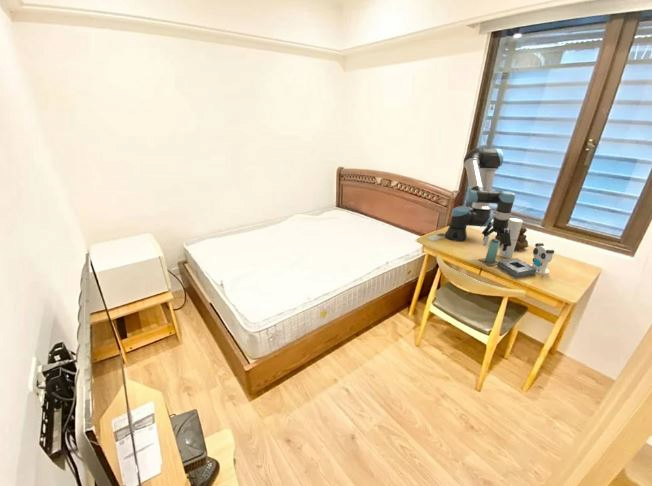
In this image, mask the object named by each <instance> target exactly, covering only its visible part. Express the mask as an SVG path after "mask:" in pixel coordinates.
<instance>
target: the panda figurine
mask: <svg viewBox="0 0 652 486" xmlns="http://www.w3.org/2000/svg"><path fill="white" fill-rule="evenodd" d="M534 246H535V247H534V249H533V251H532V253H533V258H532V262H533V263H531V264H529V263H528V264H529V265H531V266H533V267H534V268H536V269H537V270H536V273H535V274H541V275H547V274H550V270H549V268H547V267H548V264H549V263H551V261H552V260H553V257H554V256H553V255H554V253H555V250H553V249H551V248H550V247H549V246H546V245H545V244H544V243H541V242H540V243H539V242H538V243H535V244H534Z"/></svg>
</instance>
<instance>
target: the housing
mask: <svg viewBox="0 0 652 486" xmlns="http://www.w3.org/2000/svg"><path fill="white" fill-rule="evenodd" d="M497 262H498V265H496V267H497V268H499V269H500V270H502V271H503V272H505V273H506V274H509V275H510V276H511V277H513V278H515V279H519V278H524V277H530V276H535V275H536V274H537V273H536V270H537V269H536V268H534V267H533V266H531V265H529V263H526V262H525V261H524V260H521V259H519V258H517V257H516V258H508V259H503V260H498V261H497Z"/></svg>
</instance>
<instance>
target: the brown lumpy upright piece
mask: <svg viewBox="0 0 652 486" xmlns="http://www.w3.org/2000/svg"><path fill="white" fill-rule="evenodd" d="M509 220H510V219H508V223H509ZM507 227H508V224H507V226H506V229H507ZM526 232H527V228H526V226H521V229H520V232H519V235H518V239H517V242H516V245H515V249H514V252H515V251H519V250H524V249H525V248H528V247H529V244H528V240H527V235H526V234H525V233H526ZM494 237H495V238H494V239H497V240H499V241H500V244H499V246H502V244H503V243H502V240H501V237H500V235H499V234H498V233H496V235H495V236H494Z"/></svg>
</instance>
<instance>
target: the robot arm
mask: <svg viewBox="0 0 652 486" xmlns="http://www.w3.org/2000/svg"><path fill="white" fill-rule="evenodd" d="M503 163H504V152H503V150H502V149H501V148H494V147H493V148H488V147H487V148H485V147H483V148H482V147H481V148H480V147H477V148H473V149H471V150H469V152H467V153H466V154H465V156H464V157H463V167H464V169H466V175H467V182H468V188H469V189H468V191H467V193H466V201H467V202H469V203H475V205H474V206H472V209H471V208H470V207H468V206H456V207H454V208H453V209H452V211H451V216H450V221H449V227H448V228H447V230H446V231H445V233H444V237H445V239H447V240H450V241H453V242H465V241H466V240H467V238H468V235H467V227H468V226H470V227H471V226H472V227H480V228H481V227H482V228H483V227H484V229H483V231H482V232H481V234H482V235H483V239H482V240H483V241H482V247H487V246H488V242H489V239H490V236H489V235H491V234H492V233H493V234H494V233H496V234H497V233H498V234H499V235H500V237H501V240H502V243H503V245H501V247H500V250H499V251H500V252H499V255H498V256H501V255H504V253H505V251H506V249H507V246H511V239H510V229H506V226H507V224H508V220H510V218H511V217H510V216H511V212H512V209H513V206H514V202H515V198H516V193H514V192H512V191H506V190H505V191H504V190H501V189H495V190H493V186H494V180H495V174H496V172H497V170H499V167H501V166H502V165H503ZM490 204H492V205H493V204H496V208H495V209H496V210H495V214H494V212H493V210H492V208H491V207H490ZM493 214H494V215H493ZM492 220H493V221H492ZM505 243H506V244H505Z"/></svg>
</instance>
